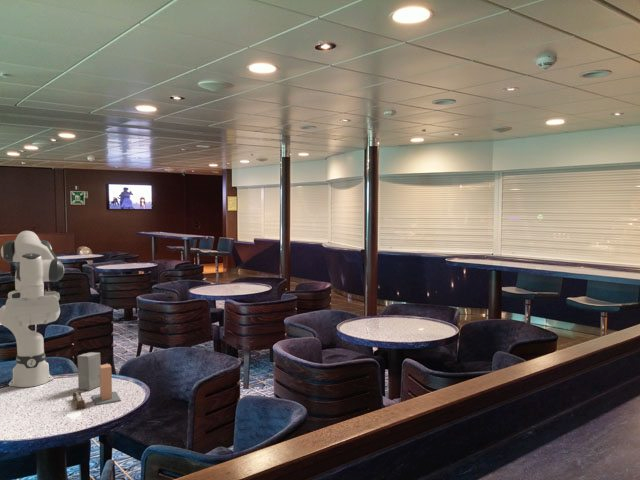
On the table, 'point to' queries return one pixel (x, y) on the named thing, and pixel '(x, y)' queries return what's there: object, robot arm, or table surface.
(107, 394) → the orange rectangular block
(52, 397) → the table surface
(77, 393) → the bar
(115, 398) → the mat
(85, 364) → the skincare box
